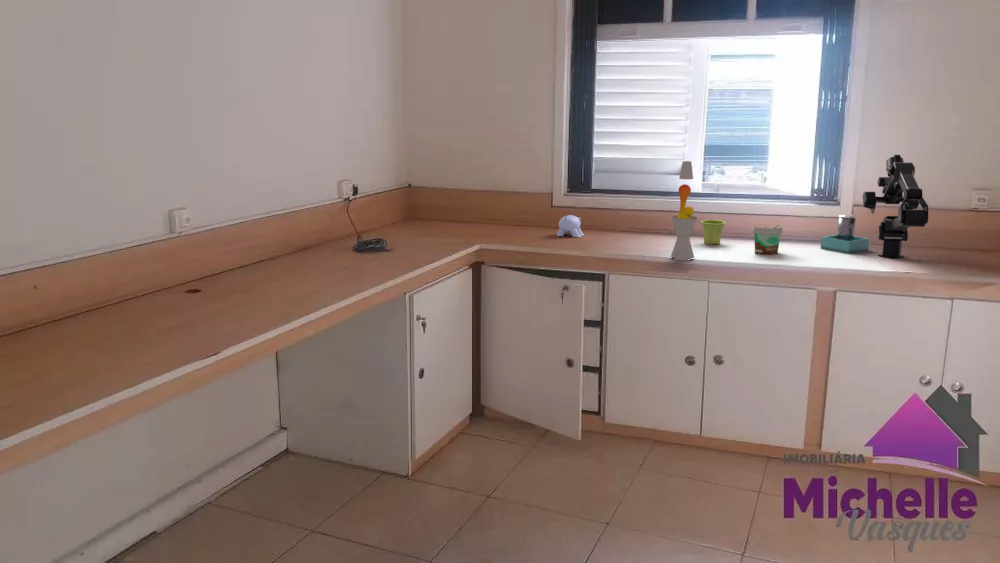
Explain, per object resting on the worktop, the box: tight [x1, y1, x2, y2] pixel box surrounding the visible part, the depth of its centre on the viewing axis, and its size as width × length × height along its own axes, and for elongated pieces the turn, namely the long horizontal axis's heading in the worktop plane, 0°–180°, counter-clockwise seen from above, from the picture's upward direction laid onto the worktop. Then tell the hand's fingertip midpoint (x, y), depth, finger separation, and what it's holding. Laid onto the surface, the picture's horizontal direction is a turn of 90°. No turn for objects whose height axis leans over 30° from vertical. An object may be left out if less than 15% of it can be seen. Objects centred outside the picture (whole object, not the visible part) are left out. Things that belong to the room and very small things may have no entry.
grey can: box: [836, 213, 857, 241], centre depth 307 cm, size 6×6×12 cm
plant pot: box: [700, 219, 726, 245], centre depth 321 cm, size 9×9×9 cm
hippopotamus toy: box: [555, 214, 585, 238], centre depth 341 cm, size 11×15×10 cm
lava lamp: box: [670, 160, 698, 261], centre depth 290 cm, size 9×9×35 cm
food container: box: [752, 224, 784, 256], centre depth 300 cm, size 12×6×10 cm, turn 117°
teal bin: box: [820, 234, 870, 255], centre depth 308 cm, size 12×12×4 cm
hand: (885, 213), depth 306 cm, fingers open, 9 cm apart
